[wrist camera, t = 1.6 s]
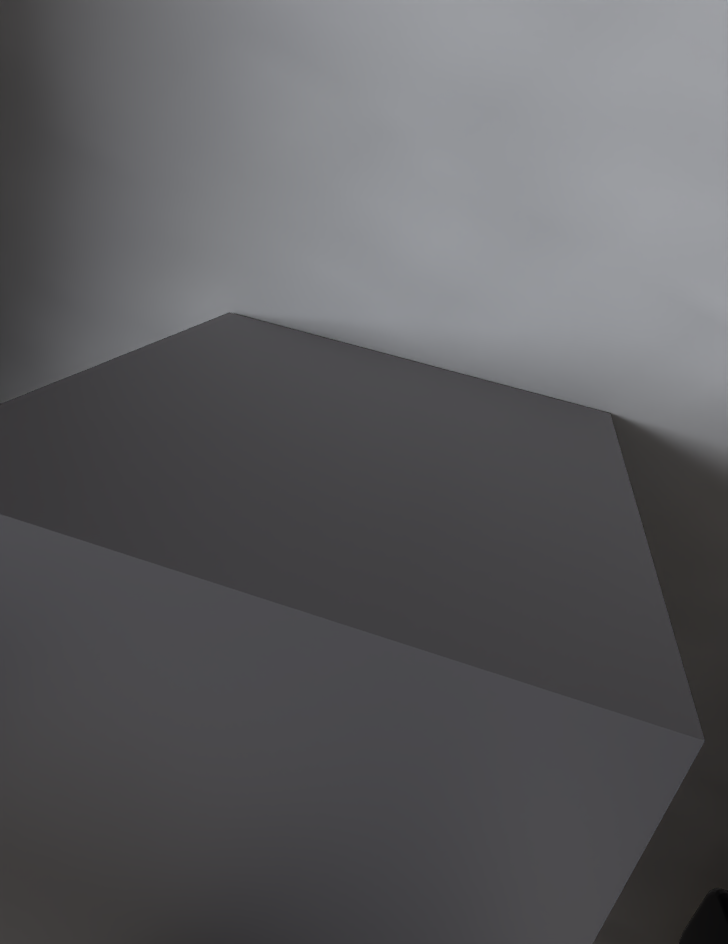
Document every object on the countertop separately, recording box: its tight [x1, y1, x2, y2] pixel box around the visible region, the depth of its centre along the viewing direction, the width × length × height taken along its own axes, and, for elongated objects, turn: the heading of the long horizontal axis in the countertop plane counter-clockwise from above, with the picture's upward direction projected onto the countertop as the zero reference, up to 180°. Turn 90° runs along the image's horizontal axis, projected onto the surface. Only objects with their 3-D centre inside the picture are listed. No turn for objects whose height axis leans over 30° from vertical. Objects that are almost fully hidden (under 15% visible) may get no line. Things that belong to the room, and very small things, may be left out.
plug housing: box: [0, 313, 705, 944], centre depth 7 cm, size 8×4×5 cm, turn 168°
